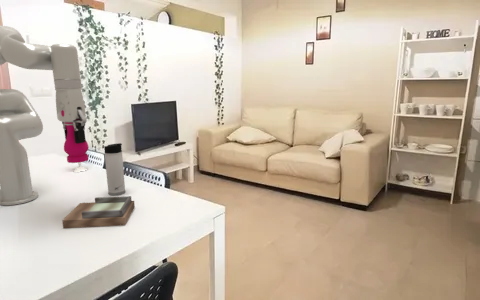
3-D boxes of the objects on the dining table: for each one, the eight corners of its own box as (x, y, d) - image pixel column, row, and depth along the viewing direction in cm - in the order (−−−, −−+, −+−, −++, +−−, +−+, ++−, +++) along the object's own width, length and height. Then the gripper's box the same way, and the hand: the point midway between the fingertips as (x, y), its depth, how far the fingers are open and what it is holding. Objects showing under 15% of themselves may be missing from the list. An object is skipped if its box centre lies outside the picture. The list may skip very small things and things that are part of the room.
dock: (63, 228, 95) (61, 214, 94) (80, 209, 108) (79, 197, 107) (125, 225, 97) (123, 211, 96) (134, 207, 110) (133, 195, 109)
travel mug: (120, 196, 121) (116, 145, 117) (105, 195, 123) (100, 144, 118) (129, 190, 127) (125, 142, 123) (114, 189, 128) (110, 141, 124)
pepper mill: (65, 164, 100) (56, 100, 96) (65, 160, 106) (57, 100, 102) (90, 161, 103) (83, 99, 99) (89, 157, 109) (82, 99, 105)
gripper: (43, 86, 102) (51, 141, 105) (69, 85, 92) (77, 146, 95) (67, 85, 108) (74, 138, 111) (94, 84, 98) (100, 142, 101)
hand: (75, 141), depth 103 cm, fingers closed on pepper mill, 5 cm apart
